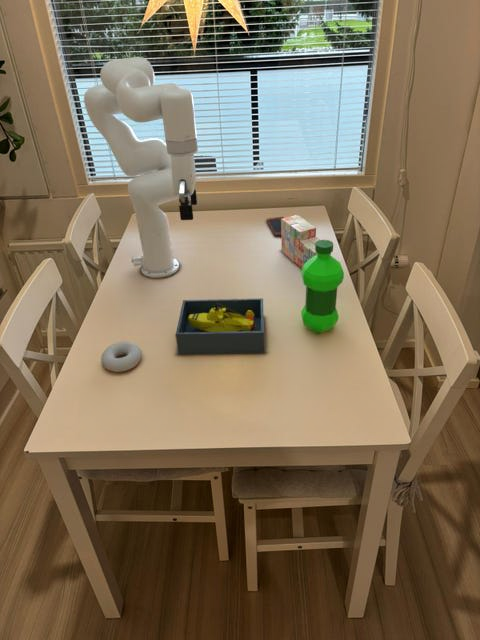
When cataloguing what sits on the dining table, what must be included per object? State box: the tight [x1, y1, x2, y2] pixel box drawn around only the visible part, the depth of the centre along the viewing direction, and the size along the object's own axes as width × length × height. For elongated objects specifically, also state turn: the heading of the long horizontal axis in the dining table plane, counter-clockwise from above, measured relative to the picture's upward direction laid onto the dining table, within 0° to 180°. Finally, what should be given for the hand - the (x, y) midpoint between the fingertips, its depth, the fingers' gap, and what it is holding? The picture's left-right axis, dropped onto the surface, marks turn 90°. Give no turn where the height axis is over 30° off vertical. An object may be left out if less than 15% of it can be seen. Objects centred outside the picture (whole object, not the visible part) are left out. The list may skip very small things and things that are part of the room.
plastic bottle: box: [300, 239, 345, 334], centre depth 122 cm, size 10×10×25 cm
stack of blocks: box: [280, 214, 332, 269], centre depth 155 cm, size 21×6×12 cm, turn 24°
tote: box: [175, 297, 265, 355], centre depth 126 cm, size 22×15×7 cm
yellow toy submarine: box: [188, 302, 256, 332], centre depth 125 cm, size 6×18×10 cm, turn 79°
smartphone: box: [266, 216, 285, 237], centre depth 180 cm, size 7×1×15 cm
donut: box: [101, 341, 142, 373], centre depth 120 cm, size 10×4×10 cm
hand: (189, 211), depth 125 cm, fingers open, 9 cm apart
